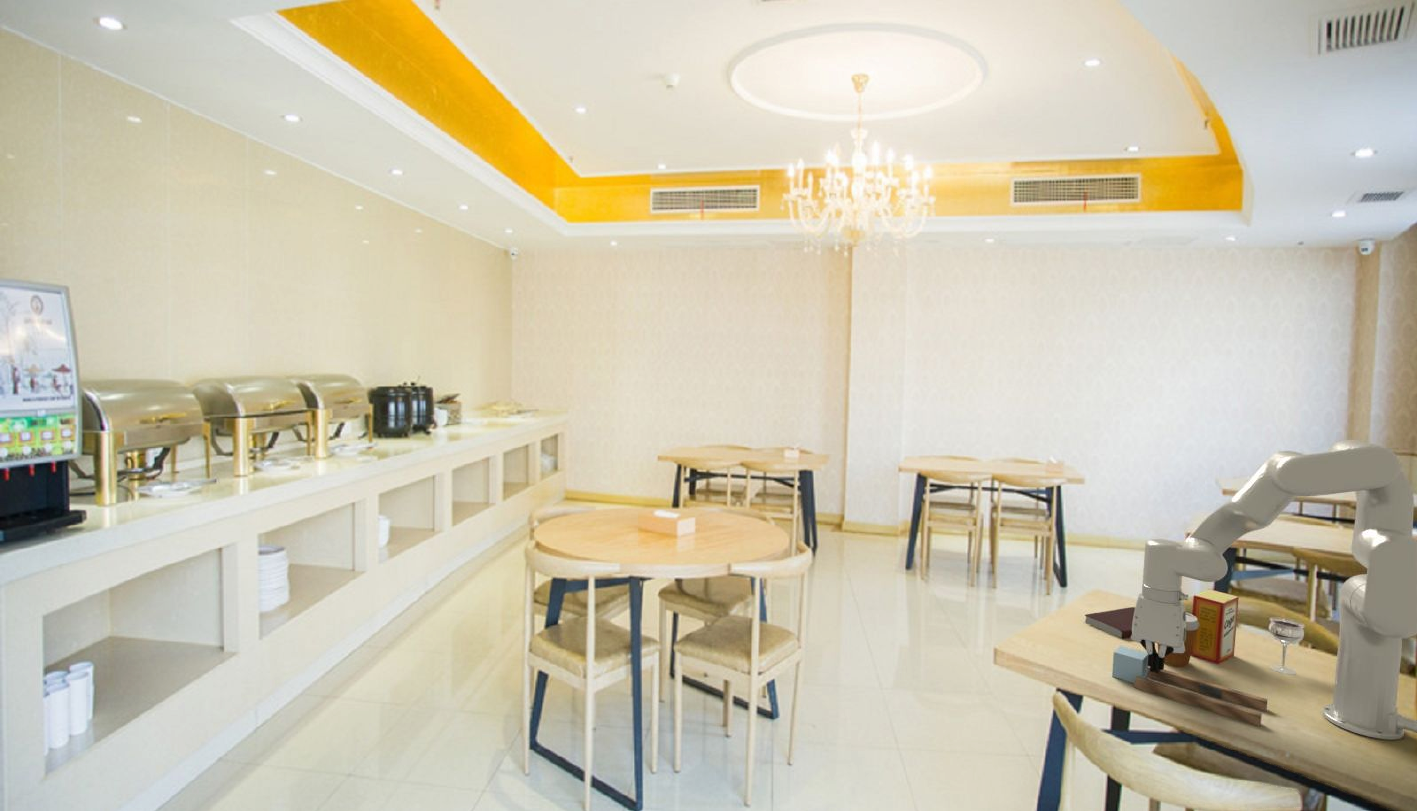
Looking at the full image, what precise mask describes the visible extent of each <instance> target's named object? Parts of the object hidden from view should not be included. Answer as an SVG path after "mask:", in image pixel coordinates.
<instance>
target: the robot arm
mask: <svg viewBox="0 0 1417 811" xmlns="http://www.w3.org/2000/svg"><path fill="white" fill-rule="evenodd" d="M1352 492H1355V498H1356V499H1355V500H1356V502H1355V503H1356V507H1355V508H1356V509H1355V510H1356V511H1355V518H1354V519H1355V520H1354V527H1353V534H1352V540H1351V552H1352V553H1351V554H1352V556H1353V557H1354V559H1355V560H1356V561H1357V562H1358V563H1359V564H1361V566H1363V567H1365V569H1367V572H1366V573H1364V574H1356V575H1354V576H1351V577H1349V578H1348V579H1346V580H1345V581H1344V583H1343V584H1341V585H1342V586H1341V588H1340V590H1339V594H1338V609H1339V611H1338V612H1339V637H1338V638H1339V639H1338V646H1337V656H1336V666H1335V667H1336V668H1335V678H1334V685H1333V686H1334V688H1333V698H1332V704H1331V703H1330V704H1326V705H1324V706H1323V707H1322V712H1321V713H1322V716H1323V717H1324V718H1325V719H1326V720H1328V721H1329V722H1330V723H1332V724H1334V725H1336V726H1337V727H1339V728H1342V729H1344V730H1347V731H1349V732H1352V733H1355V734H1357V735H1358V734H1359V735H1361V736H1366V737H1369V738H1373V739H1379V740H1386V741H1387V740H1388V741H1389V740H1390V741H1391V740H1400V739H1402V738H1403V737H1404V736H1405V730H1407V731H1410V732H1412V733H1415V734H1417V719H1413V718H1410V717H1406V716H1402V714H1400V713H1398V711H1399V710H1398V707H1397V699H1398V689H1399V679H1400V669H1401V660H1402V653H1403V652H1402V651H1403V639H1407V638H1410V637H1412V636H1413V637H1414V636H1415V635H1417V538H1415V537H1414V536H1413V526H1414V509H1415V508H1414V507H1415V502H1414V501H1415V498H1414V494H1413V489H1412V486H1411V483H1410V481H1409V479H1408V478H1407V476H1406V474H1405V473H1404V471H1403V469H1402V464H1401V460H1400V459H1399V458H1398V456H1397V454H1395V453H1394V451H1392V450H1390V449H1389V448H1387V447H1385V446H1383V445H1382V446H1381V445H1378V444H1374V443H1372V442H1368V441H1365V440H1361V439H1344V440H1343V439H1342V440H1341V441H1338V442H1335V443H1334V444H1333V445H1332V446H1331V447H1330V448H1329V451H1328V452H1322V453H1321V452H1320V453H1313V454H1303V453H1300V452H1297V451H1293V450H1280V451H1277V452H1275V453H1273V454H1271V455H1270V456H1269V457H1268V458H1266V460H1265V461H1264V462H1263V463H1262V464H1261V465H1260V466H1259V467H1258V468H1257V469H1256V471H1254V473H1253V474H1252V475H1251V476H1250V477H1249V478H1248V479H1247V480H1246V482H1245V483H1244V484H1243V485H1242V486H1241V487H1240V488H1239V489H1238V490H1237V491H1236V493H1234V494H1233V495H1232V497H1231V498H1230V499H1229V500H1228V501H1226V502H1225V503H1224V504H1222V505H1221V506H1219V508H1217V509H1216V510H1215V511H1213V512H1212V513H1211V514H1210V515H1208V516H1207V517H1206V518H1205V519H1204V520H1202V522H1200V523H1199V525H1198V526H1197V527H1195V528H1194V530H1193V531H1192V532H1191V533H1190V534H1189V536H1188V537H1187V538H1186V539H1185V540H1184V541H1183V543H1182V544H1180V543H1178V542H1176V541H1173V540H1170V539H1162V538H1153V539H1149V540H1147V542H1146V543H1145V545H1144V555H1143V556H1144V558H1143V569H1142V570H1143V571H1142V572H1143V573H1142V586H1141V593H1139V595H1138V596H1137V600H1136V603H1135V606H1134V607H1135V611H1134V617H1133V623H1132V635H1131V637H1130V639H1131V640H1132V641H1134V642H1136V643H1138V644H1140V645H1141V646H1142V647H1143V649H1144V650H1146V651H1145V652H1146V653H1148V666H1150V672H1155V673H1157V674H1158V673H1159V672H1160V671H1161V670H1163V669H1164V670H1165V663H1164V661H1165V656H1166V655H1168V654H1170V653H1172V652H1174V653H1184V652H1185V646H1184V642H1185V640H1186V613H1187V610H1186V605H1185V603H1184V602H1183V601H1189V594H1186V593H1184V592H1183V588H1182V585H1183V584H1182V583H1183V582H1182V581H1183V577H1185V578H1189V579H1191V580H1196V581H1199V582H1206V583H1212V582H1218V581H1220V580H1222V579H1223V578H1224V577H1225V576H1226V575H1227V573H1228V568H1229V567H1228V563H1227V560H1226V558H1225V557H1224V556H1223V554H1224V553H1225V552H1226V551H1227V550H1228V548H1230V547H1231V546H1232V545H1233V544H1234V543H1235V542H1236V541H1237V540H1239V539H1240V538H1241V537H1243V536H1245V535H1247V534H1248V533H1251V532H1254V531H1259V530H1262V529H1265V528H1267V527H1269V526H1270V525H1272V523H1273V522H1275V520H1276V519H1277V518H1278V517H1279V516H1280V514H1282V513H1283V512H1284V511H1285V509H1287V507H1288V506H1289V505H1290V504H1291V503H1292V502H1293V501H1294V500H1295V499H1296V498H1297V497H1317V496H1328V495H1336V494H1343V493H1344V494H1345V493H1352ZM1157 643H1158V644H1161V646H1160V650H1159V652H1158V651H1157V650H1156V644H1157ZM1158 644H1157V645H1158Z"/></svg>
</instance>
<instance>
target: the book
mask: <svg viewBox="0 0 1417 811" xmlns="http://www.w3.org/2000/svg"><path fill="white" fill-rule="evenodd" d="M1134 611H1135V606H1132V607H1130V606H1129V607H1123V608H1119V609H1113V610H1107V611H1106V610H1105V611H1101V612H1093V613H1087V614H1084V616H1085V621H1084V622H1086V623H1085V624H1087V625H1089V624H1090V626H1091V625H1092V627H1093V628H1096V629H1098V628H1099V629H1098V630H1101V631H1103V632H1106V633H1108V634H1110V635H1112V636H1114V635H1116V636H1115V637H1116V638H1119V639H1121V640H1124V639H1131V635H1132V623H1133V617H1134Z"/></svg>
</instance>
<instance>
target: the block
mask: <svg viewBox="0 0 1417 811" xmlns="http://www.w3.org/2000/svg"><path fill="white" fill-rule="evenodd" d="M1111 672H1112V673H1111V674H1112V675H1111V676H1112V677H1113V678H1115V679H1120V680H1122V681H1124V682H1128V683H1129V682H1130V683H1131V684H1135V678H1136V676H1138V677H1141V678H1145V679H1148V676H1147V672H1148V653H1147V651H1142V650H1138V649H1135V648H1132V647H1128V646H1124V645H1119V646H1118V647H1117V649H1115V651H1113V660H1112V671H1111Z"/></svg>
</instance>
